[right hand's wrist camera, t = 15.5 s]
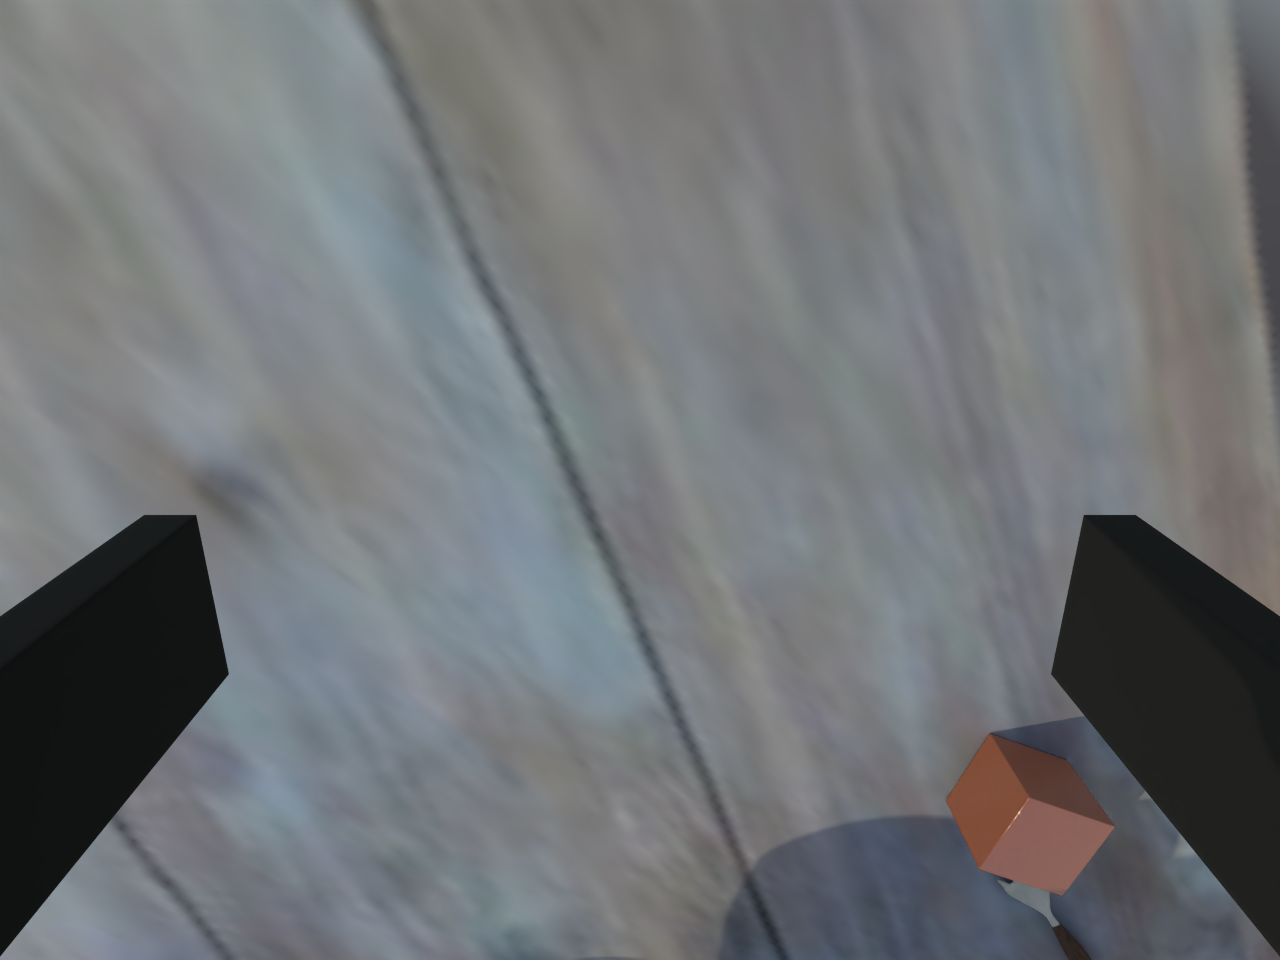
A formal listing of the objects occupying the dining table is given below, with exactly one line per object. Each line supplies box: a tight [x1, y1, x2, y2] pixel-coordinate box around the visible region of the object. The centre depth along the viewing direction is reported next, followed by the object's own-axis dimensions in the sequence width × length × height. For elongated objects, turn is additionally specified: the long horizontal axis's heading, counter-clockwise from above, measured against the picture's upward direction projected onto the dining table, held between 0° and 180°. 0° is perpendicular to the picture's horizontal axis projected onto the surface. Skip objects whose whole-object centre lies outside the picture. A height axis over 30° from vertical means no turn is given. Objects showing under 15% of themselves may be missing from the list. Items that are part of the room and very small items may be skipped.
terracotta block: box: [946, 734, 1115, 896], centre depth 44 cm, size 5×5×5 cm
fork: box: [997, 879, 1091, 960], centre depth 50 cm, size 3×16×2 cm, turn 35°
